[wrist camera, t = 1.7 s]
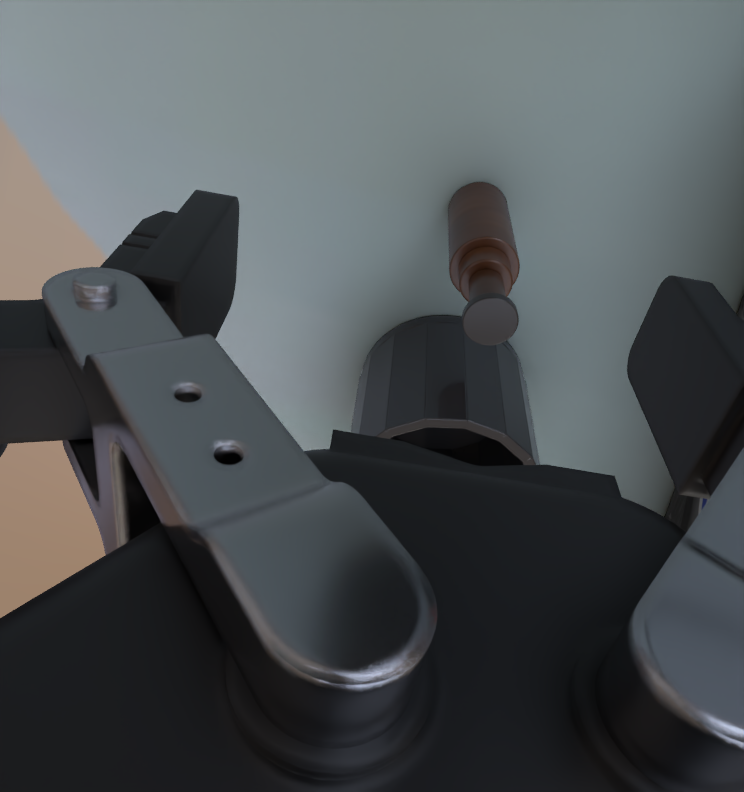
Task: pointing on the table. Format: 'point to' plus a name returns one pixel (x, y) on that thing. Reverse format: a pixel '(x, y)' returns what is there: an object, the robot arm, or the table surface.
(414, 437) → the mug
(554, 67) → the table surface
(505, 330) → the bat
